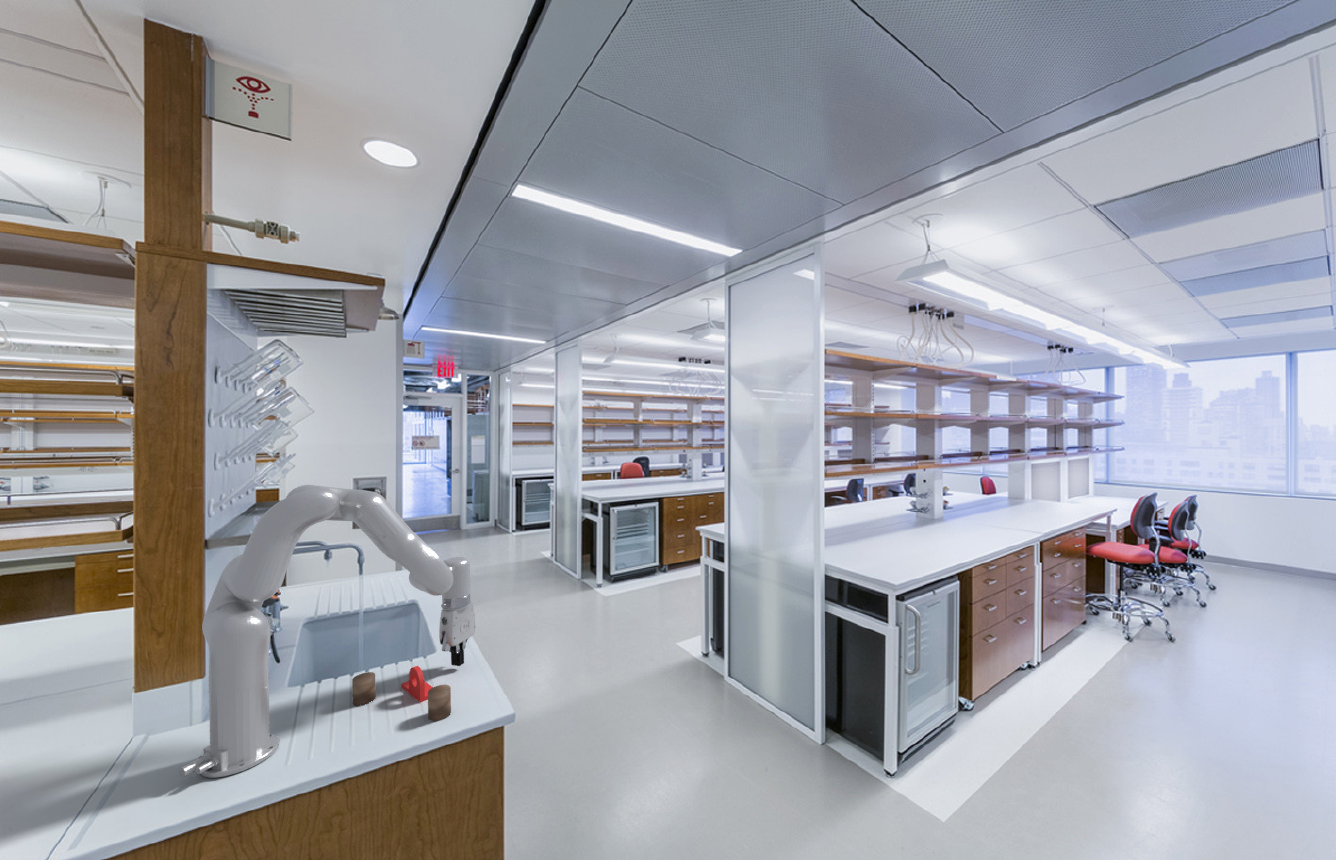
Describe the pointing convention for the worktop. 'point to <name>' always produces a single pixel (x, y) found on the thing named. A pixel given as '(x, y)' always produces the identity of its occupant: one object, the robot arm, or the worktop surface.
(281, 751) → the worktop surface
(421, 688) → the bracket
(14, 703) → the worktop surface
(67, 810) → the worktop surface
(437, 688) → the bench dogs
